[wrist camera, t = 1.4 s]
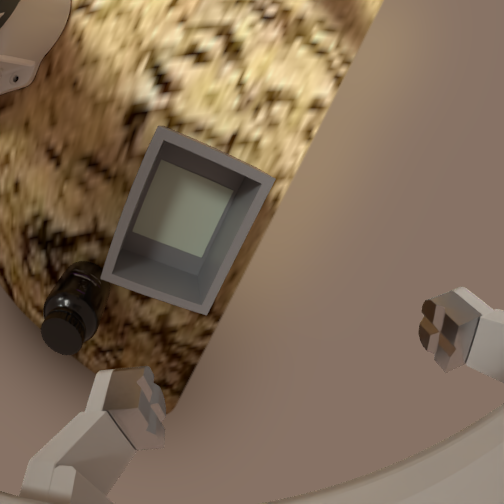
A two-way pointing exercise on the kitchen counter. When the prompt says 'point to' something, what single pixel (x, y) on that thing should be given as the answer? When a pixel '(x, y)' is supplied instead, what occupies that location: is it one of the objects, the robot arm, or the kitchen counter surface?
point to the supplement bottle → (74, 308)
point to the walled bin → (184, 221)
